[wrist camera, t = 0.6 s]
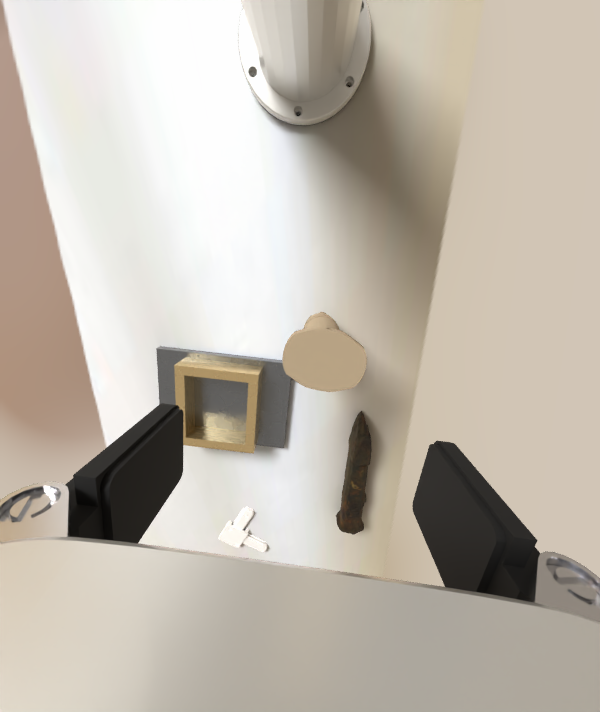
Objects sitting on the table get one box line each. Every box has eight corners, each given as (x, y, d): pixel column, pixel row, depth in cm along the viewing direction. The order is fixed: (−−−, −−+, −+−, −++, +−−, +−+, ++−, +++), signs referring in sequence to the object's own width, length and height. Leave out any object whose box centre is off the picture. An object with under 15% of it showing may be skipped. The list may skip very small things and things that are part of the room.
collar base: (160, 346, 37) (143, 355, 33) (292, 361, 37) (290, 372, 33) (164, 429, 41) (149, 445, 37) (284, 443, 41) (281, 461, 37)
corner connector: (283, 520, 46) (282, 528, 45) (261, 549, 49) (260, 558, 47) (241, 499, 46) (239, 507, 44) (221, 530, 48) (218, 539, 46)
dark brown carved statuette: (360, 514, 45) (365, 541, 40) (335, 512, 45) (338, 538, 40) (379, 410, 39) (388, 429, 35) (351, 408, 39) (356, 426, 35)
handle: (339, 347, 36) (356, 398, 22) (291, 336, 36) (277, 381, 22) (349, 310, 35) (373, 340, 20) (299, 300, 35) (289, 322, 20)
